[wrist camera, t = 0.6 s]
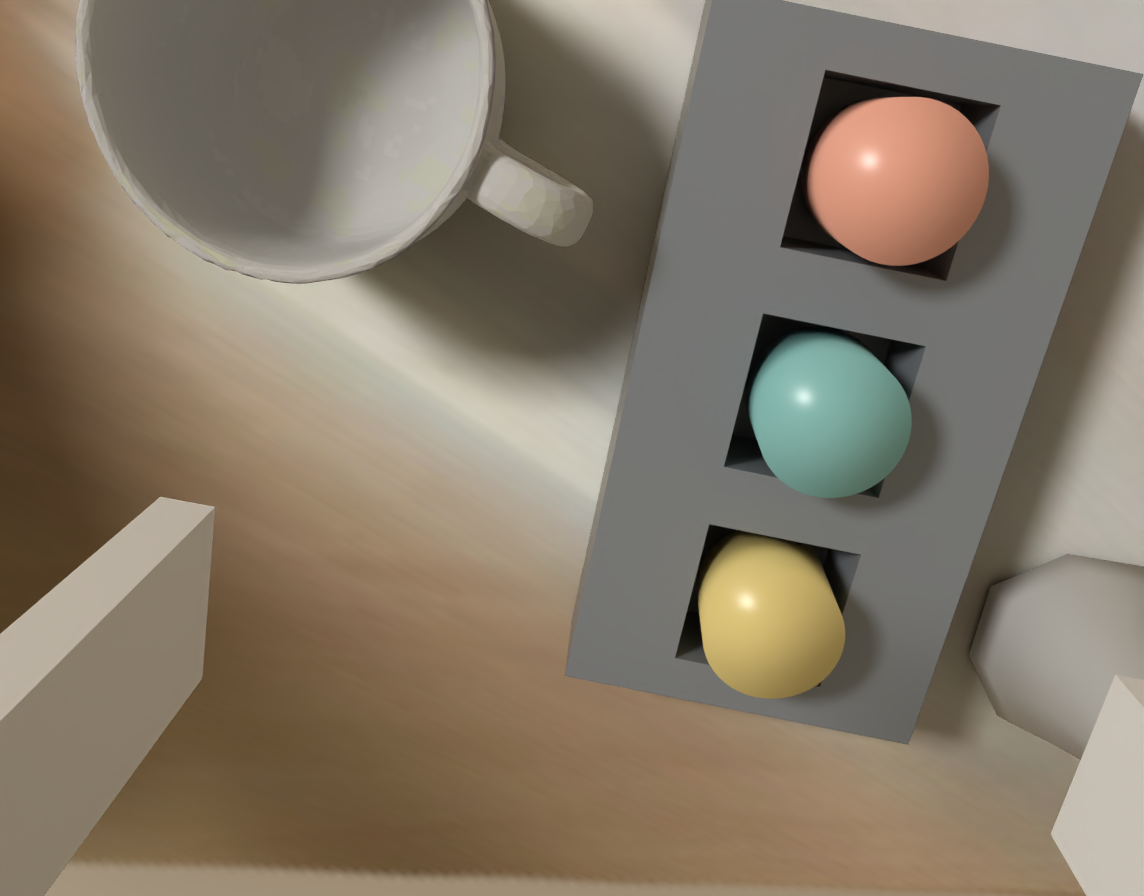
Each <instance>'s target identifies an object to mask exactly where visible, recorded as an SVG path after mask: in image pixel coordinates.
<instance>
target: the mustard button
mask: <svg viewBox="0 0 1144 896" xmlns="http://www.w3.org/2000/svg"><path fill="white" fill-rule="evenodd" d="M696 592H697V600H698V608H699V616H700V624H701V632H702V640H703V648H704V652H705V656H706V658H707V660H708V663H709V665H710V666H711V668H712V669H713V671H714V672H715V673H716V675H717V676H718V677H719V678H720V679H721V680H722V681H723V682H724V683H726V684H727V685H729V686H730V687H731V688H733V689H735V690H737V691H739V692H741V693H744V694H746V695H749V696H753V697H757V698H765V699H778V698H786V697H791V696H795V695H798V694H801V693H803V692H805V691H807V690H810V689H811V688H813V687H814V686H816V685H818V684H819V683H820V682H821V681H823V680H824V679H825V678H826V677H827V676H828V675H829V674H830V673H831V671H832V670H833V669H834V668H835V666H836V664H837V663H838V661H839V659H840V657H841V654H842V652H843V648H844V643H845V625H844V621H843V617H842V614H841V612H840V609H839V607H838V604H837V602H836V599H835V597H834V594H833V592H832V589H831V587H830V584H829V582H828V579H827V577H826V574H825V572H824V569H823V567H822V564H821V562H820V560H819V558H818V556H817V554H816V553H815V551H814V550H813V549H812V547H811V546H810V545H809V544H805V543H800V542H795V541H790V540H786V539H781V538H776V537H771V536H766V535H761V534H756V533H751V532H746V531H741V530H737V531H735V532H733V533H730V534H728V535H727V536H725V537H724V538H722V539H721V540H719V541H718V542H717V543H716V544H715V545H713V546H712V548H711V549H710V550H709V551H708V552H707V554H706V555H705V557H704V558H703V560H702V562H701V564H700V567H699V570H698V573H697V579H696Z"/></svg>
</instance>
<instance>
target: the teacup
mask: <svg viewBox="0 0 1144 896" xmlns="http://www.w3.org/2000/svg"><path fill="white" fill-rule="evenodd" d="M76 68H77V74H78V81H79V86H80V90H81V95H82V100H83V105H84V108H85V111H86V114H87V116H88V121H89V125H90V127H91V129H92V131H93V133H94V135H95V138H96V141H97V143H98V146H99V148H100V150H101V152H102V154H103V156H104V158H105V160H106V162H107V163H108V165H109V167H110V169H111V171H112V172H113V174H114V175H115V177H116V179H117V180H118V182H119V183H120V184H121V186H122V187H123V188H124V190H125V191H126V193H127V194H128V195H129V197H130V198H131V199H132V200H133V202H134V203H135V204H136V205H137V206H138V207H139V208H140V209H141V210H142V211H143V212H144V213H145V215H146V216H147V217H148V218H149V219H150V221H151V222H153V223H154V224H155V225H156V226H157V227H159V228H160V229H161V230H162V231H163V232H164V233H165V234H166V235H167V236H168V237H170V238H172V239H174V240H175V241H177V242H178V243H179V244H181V245H182V246H183V247H185V248H186V249H188V250H189V251H191V252H192V253H194V254H195V255H197V256H199V257H200V258H202V259H203V260H205V261H207V262H210V263H214V264H216V265H218V266H220V267H222V268H223V269H225V270H232V271H237V272H239V273H241V274H243V275H247V276H250V277H254V278H258V279H261V280H262V279H268V280H271V281H275V282H283V283H298V284H302V283H312V282H319V281H326V280H332V279H339V278H344V277H348V276H351V275H354V274H358V273H361V272H364V271H367V270H369V269H371V268H374V267H376V266H378V265H381V264H383V263H385V262H387V261H389V260H391V259H393V258H394V257H396V256H397V255H399V254H400V253H402V252H403V251H405V250H406V249H407V248H409V247H410V246H411V245H413V244H414V243H416V242H417V241H419V240H421V239H422V238H424V237H426V236H427V235H429V234H430V233H431V232H433V231H434V230H435V229H437V228H438V227H439V226H441V225H442V224H443V223H444V222H445V221H446V220H447V219H448V218H449V217H450V216H451V215H452V214H454V212H455V211H456V210H457V209H458V208H459V207H460V206H461V205H462V204H463V202H464V201H465V200H466V199H467V198H468V199H469V200H471V201H472V202H473V203H475V204H476V205H478V206H479V207H481V208H483V209H484V210H486V211H488V212H490V213H491V214H493V215H494V216H496V217H498V218H499V219H501V220H503V221H505V222H507V223H509V224H511V225H512V226H514V227H516V228H517V229H519V230H521V231H523V232H525V233H527V234H529V235H531V236H533V237H536V238H538V239H541V240H543V241H545V242H548V243H550V244H553V245H556V246H561V247H569V246H571V245H573V244H575V243H576V242H578V241H579V240H580V239H581V237H582V235H583V234H584V232H585V230H586V228H587V226H588V224H589V222H590V220H591V217H592V215H593V201H592V199H591V198H590V197H589V195H587V194H586V193H585V192H584V191H583V190H581V189H580V188H578V187H577V186H575V185H573V184H572V183H570V182H569V181H567V180H566V179H564V178H563V177H561V176H559V175H558V174H556V173H555V172H553V171H551V170H549V169H547V168H545V167H544V166H542V165H541V164H539V163H537V162H536V161H534V160H532V159H530V158H528V157H526V156H525V155H523V154H521V153H519V152H518V151H516V150H515V149H513V148H512V147H511V146H509V145H508V144H506V143H505V142H503V141H502V140H501V139H500V138H499V133H500V130H501V125H502V119H503V113H504V104H505V93H506V71H505V59H504V52H503V47H502V42H501V37H500V33H499V29H498V26H497V22H496V19H495V16H494V13H493V10H492V8H491V5H490V2H489V0H80V1H79V7H78V13H77V20H76Z"/></svg>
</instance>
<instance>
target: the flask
mask: <svg viewBox="0 0 1144 896" xmlns="http://www.w3.org/2000/svg"><path fill="white" fill-rule="evenodd" d="M969 656H970V659H971V661H972V663H973V665H974V667H975V669H976V671H977V674H978V676H979V678H980V680H981V682H982V684H983V686H984V688H985V691H986V693H987V695H988V697H989V699H990V701H991V703H992V705H993V708H994V710H995V712H996V714H997V715H998V716H999V717H1001V718H1003V719H1005V720H1007V721H1008V722H1010V723H1012V724H1014V725H1016V726H1018V727H1020V728H1022V729H1024V730H1026V731H1028V732H1030V733H1032V734H1034V735H1036V736H1038V737H1040V738H1042V739H1044V740H1046V741H1048V742H1050V743H1052V744H1054V745H1056V746H1058V747H1059V748H1061V749H1063V750H1065V751H1066V752H1068V753H1070V754H1072V755H1073V756H1075V757H1077V758H1079V759H1080V760H1081V758H1082V756H1083V753H1084V751H1085V748H1086V746H1087V743H1088V741H1089V738H1090V736H1091V733H1092V731H1093V728H1094V726H1095V724H1096V721H1097V719H1098V716H1099V714H1100V711H1101V709H1102V706H1103V704H1104V701H1105V699H1106V696H1107V694H1108V691H1109V689H1110V686H1111V684H1112V682H1113V679H1114V677H1115V675H1120V676H1126V677H1131V678H1137V679H1142V680H1144V567H1143V566H1137V565H1131V564H1125V563H1119V562H1112V561H1106V560H1100V559H1094V558H1088V557H1082V556H1076V555H1070V554H1067V555H1064V556H1062V557H1059V558H1057V559H1055V560H1052V561H1050V562H1048V563H1045V564H1043V565H1040V566H1038V567H1036V568H1033V569H1031V570H1029V571H1026V572H1024V573H1021V574H1019V575H1017V576H1014V577H1012V578H1010V579H1007V580H1005V581H1002V582H1000V583H998V584H995V585H993V586H991V587H990V590H989V593H988V596H987V599H986V603H985V606H984V609H983V612H982V615H981V618H980V622H979V625H978V628H977V631H976V634H975V637H974V641H973V644H972V647H971V650H970V653H969Z"/></svg>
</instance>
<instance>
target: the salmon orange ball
mask: <svg viewBox="0 0 1144 896" xmlns="http://www.w3.org/2000/svg"><path fill="white" fill-rule="evenodd" d="M988 182H989V164H988V158H987V153H986V150H985V146H984V144H983V142H982V139H981V137H980V135H979V133H978V132H977V130H976V129H975V127H974V126H973V125H972V124H971V122H970V121H969V120H968V119H967V118H966V117H965V116H964V115H963V114H961V113H960V112H959V111H957V110H956V109H954V108H953V107H951V106H949V105H947V104H945V103H943V102H940V101H937V100H934V99H930V98H923V97H884V98H870V99H865V100H861V101H857V102H855V103H852V104H850V105H848V106H846V107H844V108H842V109H841V110H839V111H837V112H836V113H835V114H833V115H832V116H831V117H830V118H829V119H827V120H826V121H825V122H824V123H823V124H822V126H821V127H820V128H819V129H818V131H817V132H816V133H815V135H814V136H813V138H812V140H811V141H810V143H809V146H808V148H807V150H806V153H805V156H804V159H803V164H802V169H801V190H802V195H803V199H804V202H805V205H806V208H807V210H808V212H809V214H810V216H811V217H812V218H813V220H814V221H815V223H816V224H817V225H818V226H819V227H820V228H821V229H822V230H823V231H824V232H825V233H826V234H828V235H829V236H830V237H832V238H833V239H835V240H836V241H838V242H839V243H840V244H842V245H843V246H845V247H846V248H848V249H849V250H851V251H852V252H854V253H855V254H857V255H859V256H860V257H862V258H864V259H867V260H869V261H872V262H875V263H879V264H884V265H891V266H903V265H911V264H916V263H920V262H924V261H926V260H929V259H931V258H934V257H936V256H938V255H940V254H941V253H943V252H945V251H946V250H948V249H949V248H951V247H952V246H953V245H954V244H956V243H957V242H958V241H959V240H960V239H961V238H962V237H963V236H964V235H965V234H966V233H967V231H968V230H969V229H970V228H971V226H972V225H973V223H974V222H975V220H976V219H977V217H978V215H979V213H980V211H981V209H982V206H983V203H984V201H985V197H986V193H987V189H988Z"/></svg>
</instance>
